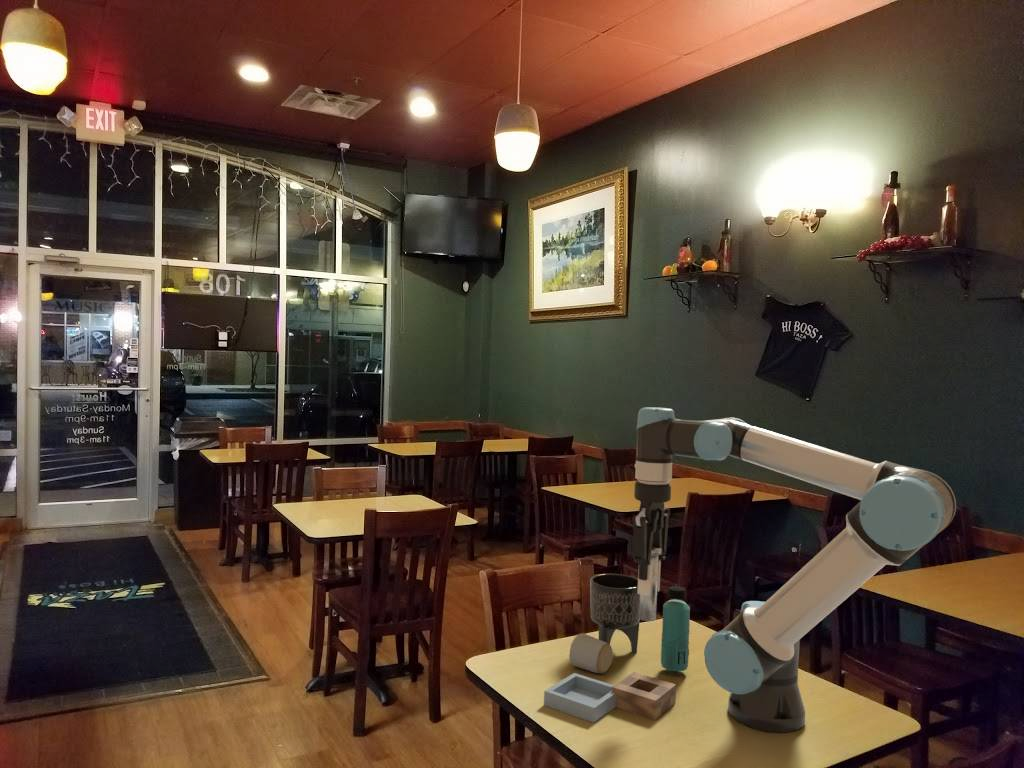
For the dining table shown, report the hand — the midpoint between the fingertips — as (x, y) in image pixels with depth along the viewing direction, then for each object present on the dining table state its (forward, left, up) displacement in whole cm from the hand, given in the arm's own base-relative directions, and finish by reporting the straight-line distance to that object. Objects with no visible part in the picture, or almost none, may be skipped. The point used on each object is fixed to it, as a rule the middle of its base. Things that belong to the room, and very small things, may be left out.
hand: (648, 591), depth 161 cm
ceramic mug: (+18, -10, -24) cm, 32 cm away
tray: (+10, +8, -24) cm, 27 cm away
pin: (0, 0, -6) cm, 6 cm away
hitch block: (0, 0, -24) cm, 24 cm away
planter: (+19, -22, -24) cm, 38 cm away
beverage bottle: (+2, -20, -24) cm, 32 cm away
